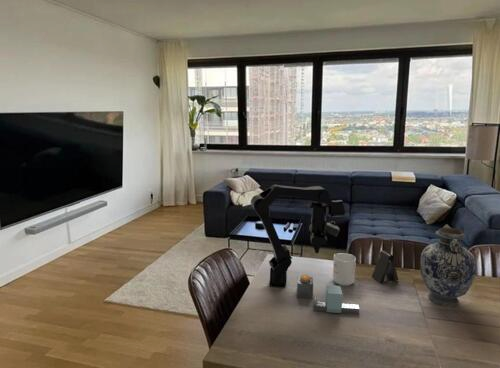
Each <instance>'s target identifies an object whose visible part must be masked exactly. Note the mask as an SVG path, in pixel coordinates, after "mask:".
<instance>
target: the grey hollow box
mask: <svg viewBox="0 0 500 368" xmlns="http://www.w3.org/2000/svg"><path fill="white" fill-rule="evenodd" d="M313 295H314V281H313V276H310V280H309V283H308V282H301V275H300V276H299V275H298V276H297V279H296V299H297V298H300V299H312V300H314V296H313Z"/></svg>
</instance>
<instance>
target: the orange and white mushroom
mask: <svg viewBox="0 0 500 368" xmlns="http://www.w3.org/2000/svg"><path fill="white" fill-rule="evenodd" d="M300 276H301V282H308V283H309V280H310V277H311V276H310V275H308V274H301V275H300Z"/></svg>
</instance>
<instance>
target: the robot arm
mask: <svg viewBox="0 0 500 368" xmlns="http://www.w3.org/2000/svg"><path fill="white" fill-rule="evenodd" d="M278 197H287V198H288V197H289V198H297V199H307V200H310V202H309V203H307V204H306V206H307V207H308V208H309V209H311V218H310V222H311V223H310V224H309V227H308V228H309V232H310V235H309V236H310V244H311V245H312V246H313V250H314V252H315V254H319V252H320V249H321V245H322V246H326V245H328V238H327V236H326V235H327V234H329V235H331V236H333V237H335V238H336V237H338V234H339V232H340V227H339V226H338V225H337V224H336V222H335V221H333V220H331V221H330V222H327V218H326V217H327V216H328V217H329V218H336V217H337V218H338V217H344V216H345V214H346V208H345V205H344V201H343V200H342V199H338V200H337V199H336V200H332V199H331V197H330V194H329V191H328V190H327V189H325V188H324V187H322V186H320V185H317V186H315V185H314V186H308V187H299V186H289V185H288V186H287V185H281V184H280V185H279V184H272V185H271V186H269V188H267V189H265V190H263V191H261V192H259V194H256V195H254V196H252V198H251V200H250V205H251V207H252V208H253V210H254V211H255V212H256V214H257V215H258V217H259V219H260V220H261V223H262V225H263V228H264V230H265V232H266V235H267V237H268V239H269V242H270V244H271V247H272V254H273V257H272V258H271V259H270V260H269V261H268V263H269V267H270V270H269V285H268V286H269V287H272V288H273V287H275V288H276V287H278V288H286V284H287V282H288V281H287V279H288V273H287V272H288V270H289V268H290V267H291V265H292V263H293V262H292V259H293V257H292V255H291V254H290V250H289V248H288V247H287V246H286V244H284V245H282V242H281V240H280V238H279V235H278V233H277V231H276V227H275V226H274V223H273V221H272V218H271V213H270V207H269V206H271V205H272V204H273V203H274V202H275V200H277V198H278Z"/></svg>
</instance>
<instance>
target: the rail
mask: <svg viewBox="0 0 500 368" xmlns="http://www.w3.org/2000/svg"><path fill="white" fill-rule="evenodd" d="M312 304H313V307H312V308H313V312H314V311H315V312H325V313H328V312H327V305H326V301H318V297H317V296H313V303H312ZM340 314H353V315H354V314H355V315H359V314H360V306H359V304H355V303H343V302H342V310H341V313H340Z"/></svg>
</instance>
